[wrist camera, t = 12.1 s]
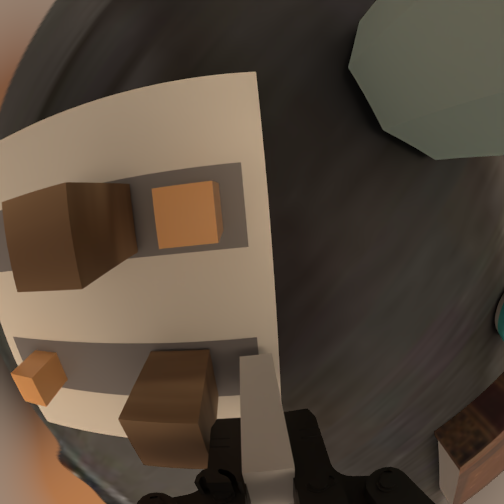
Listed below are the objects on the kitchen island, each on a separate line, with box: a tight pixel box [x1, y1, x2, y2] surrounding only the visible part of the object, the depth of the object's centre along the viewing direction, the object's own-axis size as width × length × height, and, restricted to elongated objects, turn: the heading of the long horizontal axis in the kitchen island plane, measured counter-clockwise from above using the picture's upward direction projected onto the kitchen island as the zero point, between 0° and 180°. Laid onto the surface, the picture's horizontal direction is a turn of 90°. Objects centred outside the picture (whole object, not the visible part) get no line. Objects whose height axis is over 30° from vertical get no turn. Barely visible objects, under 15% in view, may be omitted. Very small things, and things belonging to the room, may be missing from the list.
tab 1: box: [2, 182, 138, 292], centre depth 9 cm, size 3×3×5 cm
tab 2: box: [118, 349, 219, 469], centre depth 11 cm, size 3×3×5 cm
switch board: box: [0, 72, 281, 438], centre depth 12 cm, size 20×18×6 cm
